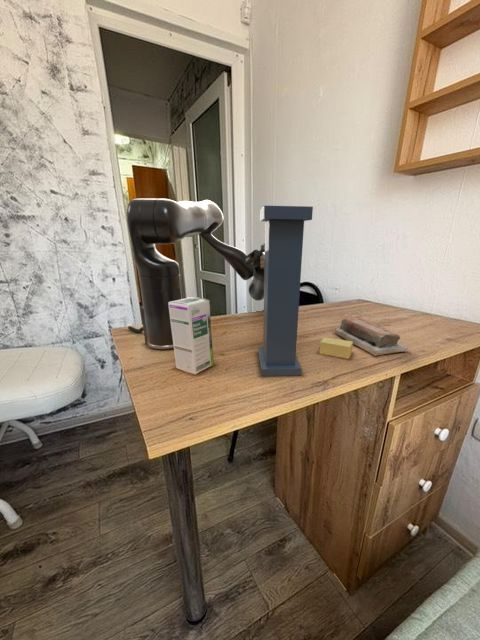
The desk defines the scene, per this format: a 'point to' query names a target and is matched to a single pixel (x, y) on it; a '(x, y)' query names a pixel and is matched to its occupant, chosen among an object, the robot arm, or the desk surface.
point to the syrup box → (191, 334)
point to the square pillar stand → (282, 287)
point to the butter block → (336, 347)
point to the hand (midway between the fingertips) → (269, 246)
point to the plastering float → (369, 336)
